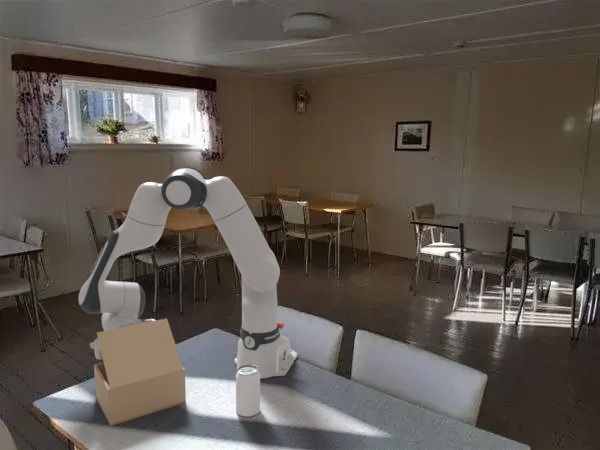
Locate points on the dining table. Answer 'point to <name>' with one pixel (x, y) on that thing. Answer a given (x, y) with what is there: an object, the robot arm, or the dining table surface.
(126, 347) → the carton flap
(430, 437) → the dining table surface
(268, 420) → the dining table surface
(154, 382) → the carton
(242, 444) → the dining table surface
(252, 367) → the can
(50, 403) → the dining table surface
